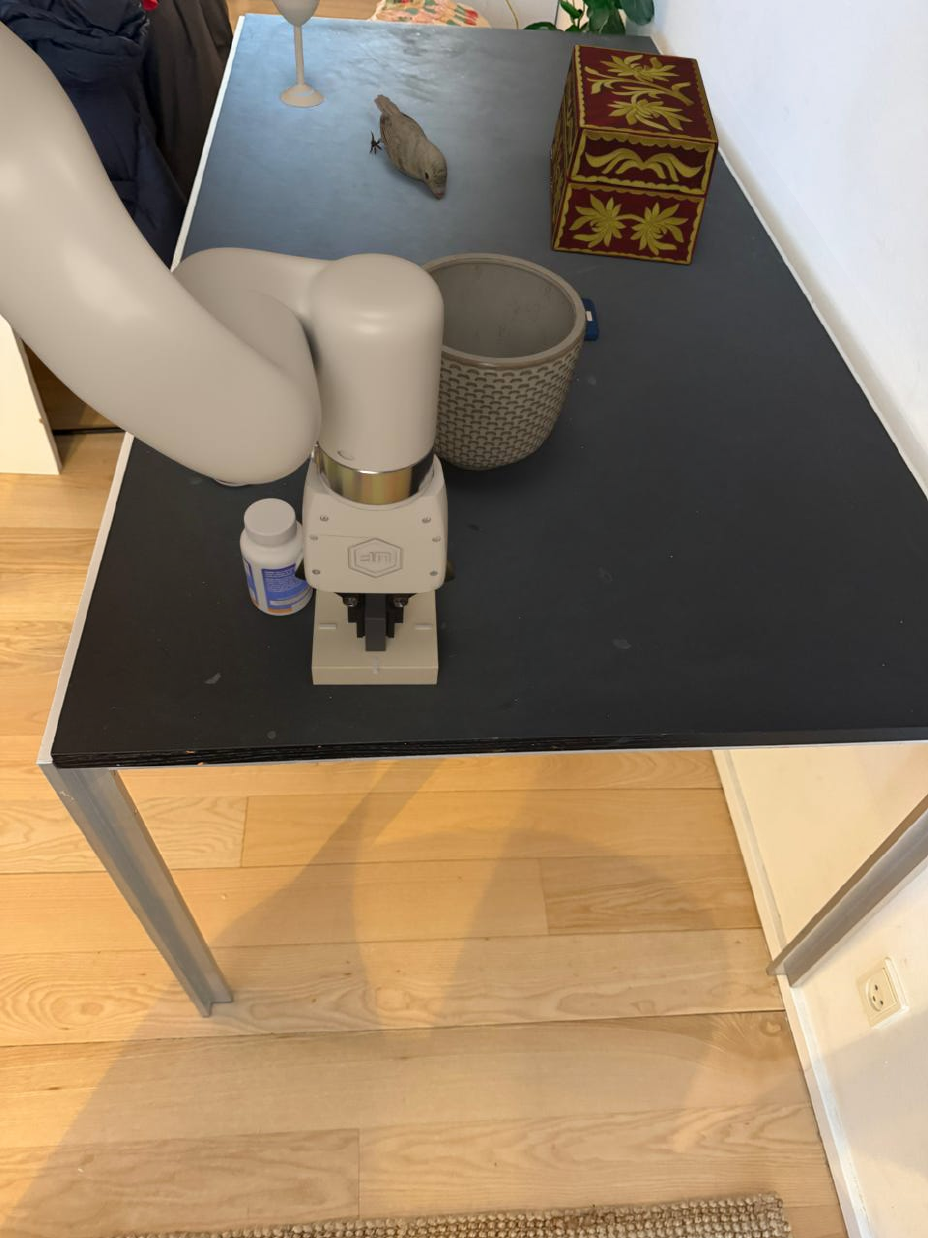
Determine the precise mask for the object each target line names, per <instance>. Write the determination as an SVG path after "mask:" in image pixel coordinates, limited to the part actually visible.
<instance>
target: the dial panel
mask: <svg viewBox="0 0 928 1238" xmlns="http://www.w3.org/2000/svg"><path fill="white" fill-rule="evenodd" d="M314 605H315V606H314V621H313V623H314V624H313V638H312V639H313V640H312V655H311V677H312V684H313V685H315V686H316V685H317V686H318V685H319V686H320V685H323V686H324V685H329V686H330V685H332V686H334V685H335V686H336V685H337V686H338V685H339V686H340V685H344V686H345V685H437V684H438V674H439V652H438V630H437V629H438V628H437V608H436V607H437V606H436V591H435V590H433V591H429V592H424V593H417V594H416V595H414V596H412V597H410V598H409V600H408V604H407V605H406V606H404V616H403V623H395V630H394V638H388V636H386V649H385V651H366V650H365V636H363V638H357V628H356V623H348V612H347V606H346V605H344V604H343V599H342V597H340V596H339V595H337V594H335V593H334V592H327V591H322V590H318V589H316V591H315V603H314Z"/></svg>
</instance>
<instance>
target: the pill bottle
mask: <svg viewBox="0 0 928 1238" xmlns="http://www.w3.org/2000/svg"><path fill="white" fill-rule="evenodd" d="M243 525H244V528H243V529H242V531H241V534H240V538H239V547H240V553H241V557H242V562H243V566H244V567H243V568H244V572H245V576H246V577H245V578H246V581H247V586H248V593H249V596H250V598H251V601H252V603H253V604H254V605H255V607H257V609H258V610H260V611H261V612H263V613H265V614H268V615H271V616H279V617H280V616H289V615H292V614H295V613H297V612H299V611H301V610H302V609H304V608H305V607H306V606H307V605H308V604H309V602H310V601H311V598H312V596H313V593H314V592H313V591H314V588H313V587H312V586H310V585H309V584H308V583H307V581H305V580H301V579H298V578H296V577H295V565H296V560H297V558H298V556H299V554H300V552H301V550H302V548H303V531H302V524H301V523H300V522H299V521H298V520H297V515H296V511H295V510H294V508H293V506H291V504H290V503H288V502H287V501H284V500H282V499H279V498H274V497H273V498H271V497H269V498H263V499H259V500H257V501H255V502H253V503H252V504H251V505H250V506H248V507H247V509H246V510H245V512H244V514H243Z"/></svg>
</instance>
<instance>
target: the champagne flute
mask: <svg viewBox="0 0 928 1238" xmlns="http://www.w3.org/2000/svg"><path fill="white" fill-rule="evenodd" d="M272 3H273V5H274V7H275V8H276V10H277V12H278V13H279V15H281V17H283V18H284V19H285V20H286V22H287V23H289V24H290V25H291V26H293V41H294V42H293V43H294V57H295V72H296V74H295V75H296V83H295V84H293V85H292V86H290V87H288V88H287V89H285V90H283V92H281V93H280V94H279V99H280V100H281V101H282V102H283V103H284V104H286V105H289V106H291V107H295V108H296V107H297V108H309V107H315V106H318V105H320V104H322V103H323V101H324V95H323V94H322V93H321V92H319V91H318V90H316V89H314V88H313V87H312V86H309V85H308V84H306V81H305V78H306V77H305V65H304V61H305V60H304V47H303V27H302V26H303V25H305V24H307V22H309V20H310V19H311V18H312V17H313V16H314V15H315V14H316V11H317V9H318V8H319V5H320V0H272ZM312 89H313V90H314V92H313V93H312V94H310V95H307V96H298V95H294V94H300V95H301V94H305V93H310V92H311V91H312ZM289 91H290V92H291V93H290V92H289ZM292 93H294V94H292Z"/></svg>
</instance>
